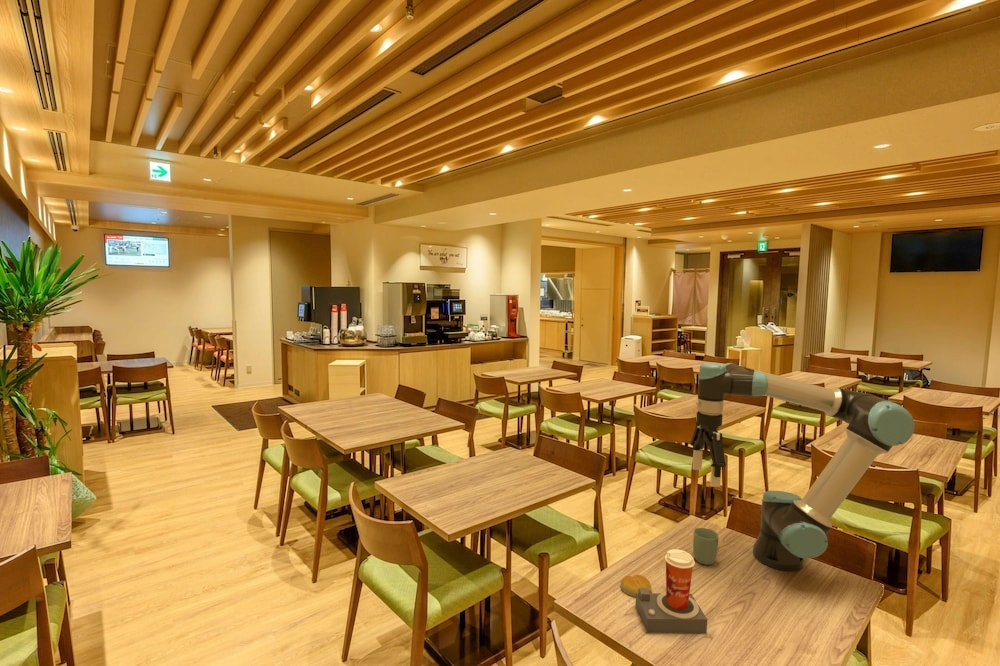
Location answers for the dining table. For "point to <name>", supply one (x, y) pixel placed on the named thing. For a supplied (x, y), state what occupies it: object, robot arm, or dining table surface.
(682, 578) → the paper cup
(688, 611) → the block
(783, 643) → the dining table surface
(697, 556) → the cup
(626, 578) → the bread roll
